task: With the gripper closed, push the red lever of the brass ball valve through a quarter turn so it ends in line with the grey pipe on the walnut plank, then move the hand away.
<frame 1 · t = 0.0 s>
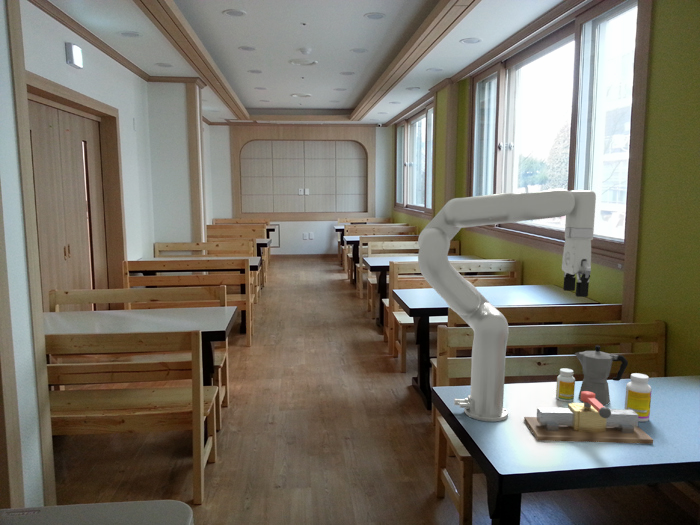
hand: (575, 293, 159), 37 cm above the table, tool pointing down, fingers open, 9 cm apart
lever: (595, 406, 146), point 9 cm above the table, hinge at 0.0°
supplement bottle 2: (564, 399, 177), on the table
supplement bottle: (636, 418, 162), on the table
valve: (585, 431, 152), resting on plank
plank: (585, 431, 152), on the table
coffeepot: (597, 401, 175), on the table
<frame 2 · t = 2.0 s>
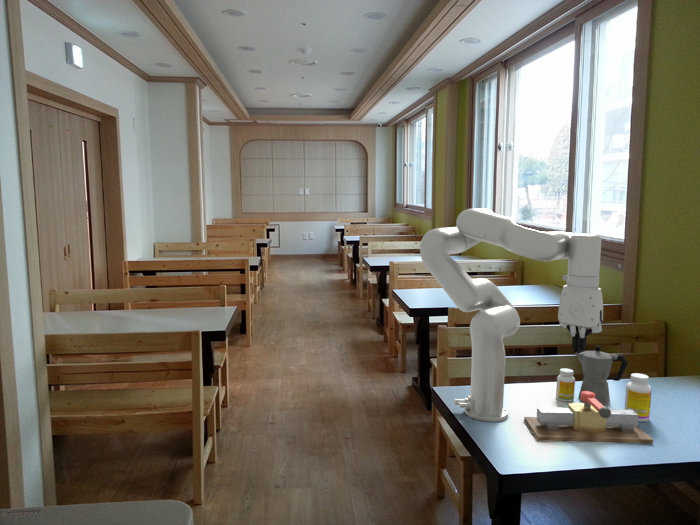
hand: (578, 351, 144), 24 cm above the table, tool pointing down, fingers closed
nothing on the table moved.
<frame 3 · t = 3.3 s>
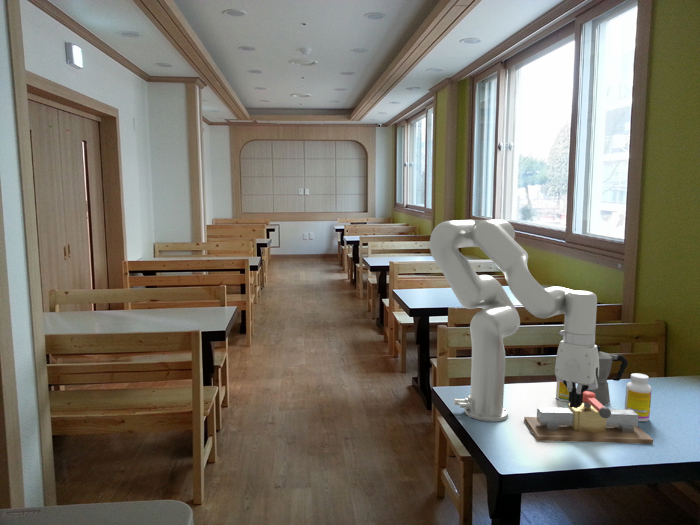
hand: (575, 406, 145), 9 cm above the table, tool pointing down, fingers closed
nothing on the table moved.
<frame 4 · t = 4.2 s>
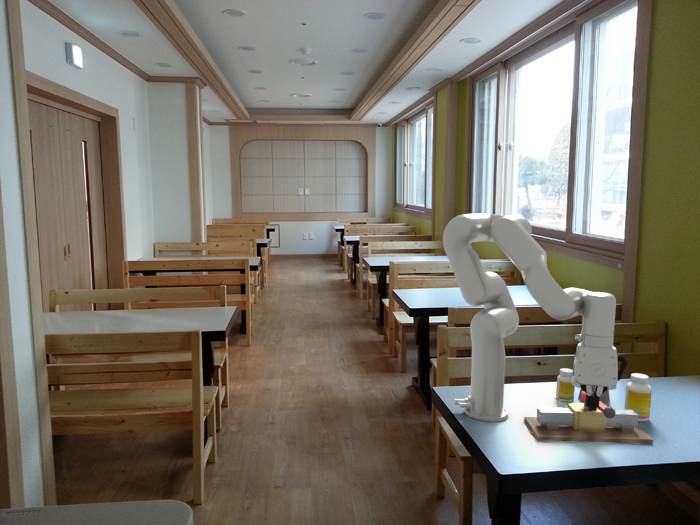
hand: (591, 409, 144), 9 cm above the table, tool pointing down, fingers closed
lever: (597, 406, 146), point 9 cm above the table, hinge at 5.9°, touching gripper
everything else where it was.
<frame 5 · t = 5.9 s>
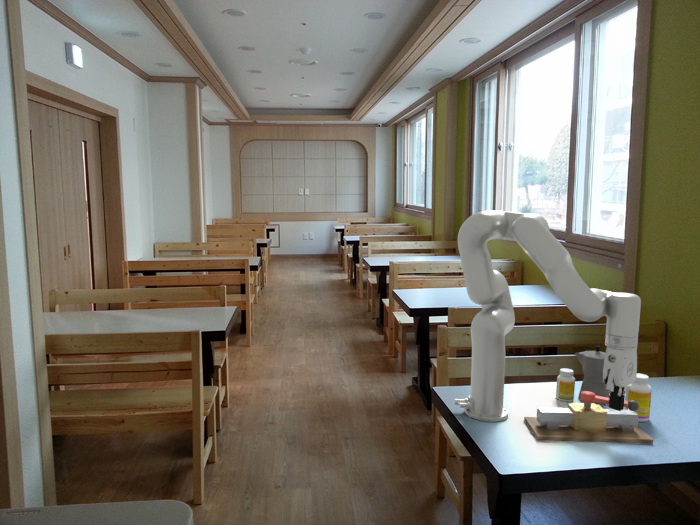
hand: (616, 408, 145), 9 cm above the table, tool pointing down, fingers closed
lever: (608, 403, 148), point 9 cm above the table, hinge at 59.0°, touching gripper
everything else where it was.
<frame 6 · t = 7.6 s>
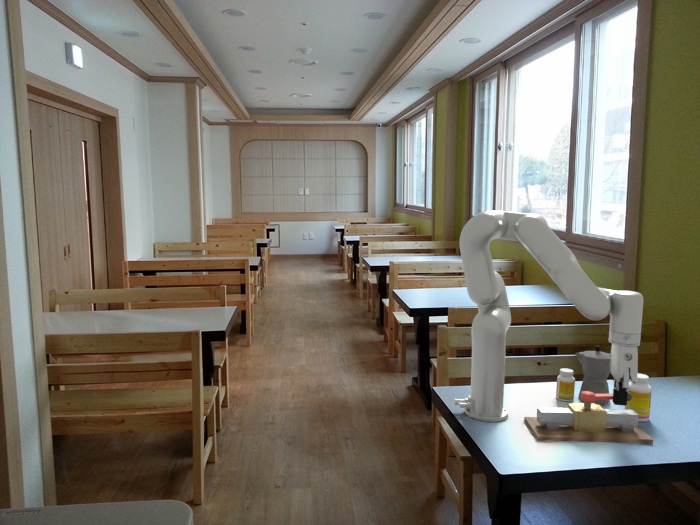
hand: (619, 403, 148), 9 cm above the table, tool pointing down, fingers closed
lever: (606, 398, 151), point 9 cm above the table, hinge at 96.4°
everything else where it was.
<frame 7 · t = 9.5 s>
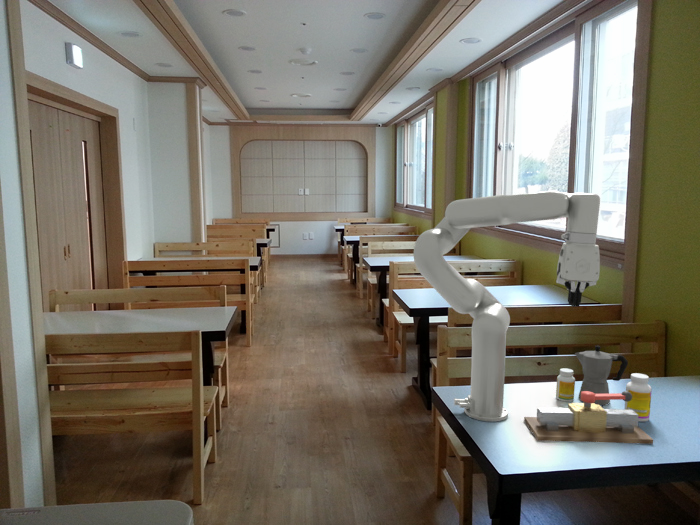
hand: (573, 305, 151), 35 cm above the table, tool pointing down, fingers closed
nothing on the table moved.
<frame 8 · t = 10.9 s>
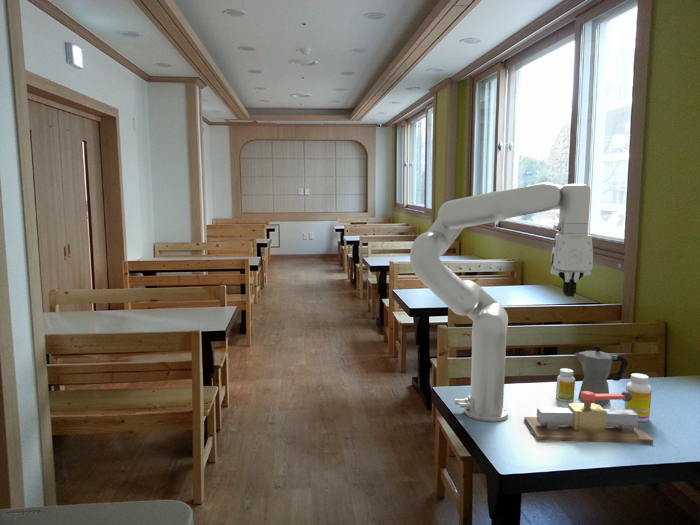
hand: (569, 295, 153), 37 cm above the table, tool pointing down, fingers closed
nothing on the table moved.
at the end: lever at +96° (first picture: +0°); lever touching nothing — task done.
